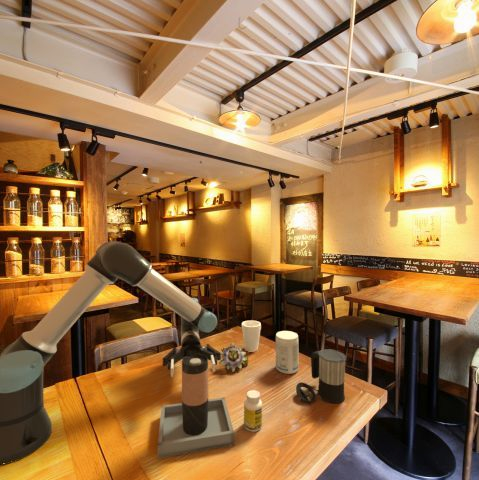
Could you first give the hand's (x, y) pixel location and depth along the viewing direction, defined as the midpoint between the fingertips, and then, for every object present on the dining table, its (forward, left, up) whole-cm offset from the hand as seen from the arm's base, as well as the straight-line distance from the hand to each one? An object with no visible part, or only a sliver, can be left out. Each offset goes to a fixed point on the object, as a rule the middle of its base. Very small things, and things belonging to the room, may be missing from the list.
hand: (193, 370), depth 88 cm
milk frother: (+44, -3, -13) cm, 46 cm away
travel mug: (0, -9, -12) cm, 15 cm away
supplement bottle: (+17, -11, -13) cm, 24 cm away
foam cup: (+30, +39, -13) cm, 51 cm away
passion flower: (+18, +25, -13) cm, 33 cm away
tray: (0, -9, -13) cm, 16 cm away
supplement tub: (+40, +18, -13) cm, 46 cm away
